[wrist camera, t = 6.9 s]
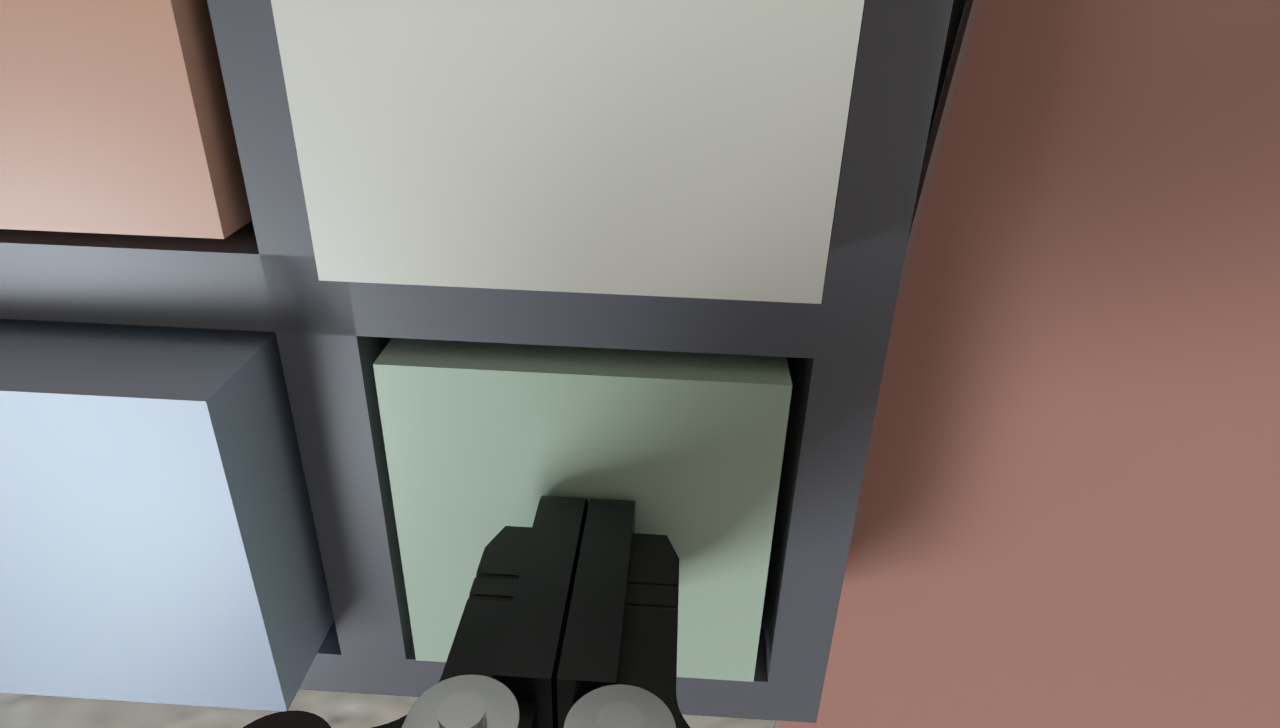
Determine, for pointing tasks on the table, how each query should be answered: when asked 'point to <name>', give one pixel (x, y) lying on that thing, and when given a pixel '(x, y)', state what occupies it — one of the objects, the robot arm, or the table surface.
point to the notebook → (1080, 386)
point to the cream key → (572, 142)
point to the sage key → (587, 471)
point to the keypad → (375, 313)
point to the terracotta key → (116, 120)
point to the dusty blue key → (153, 518)
